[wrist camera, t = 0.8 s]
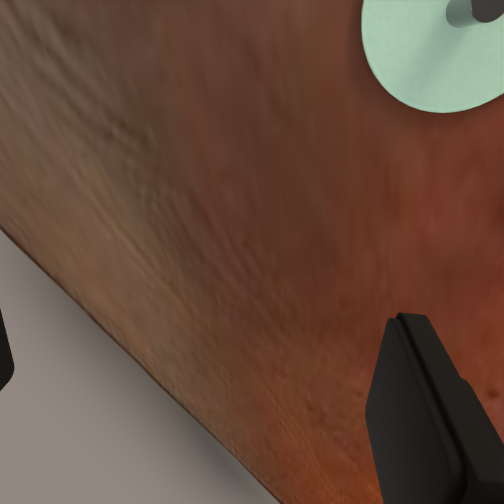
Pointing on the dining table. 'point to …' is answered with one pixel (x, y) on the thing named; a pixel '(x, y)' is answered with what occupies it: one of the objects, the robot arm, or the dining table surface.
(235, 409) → the dining table surface
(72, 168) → the dining table surface
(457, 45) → the lid
